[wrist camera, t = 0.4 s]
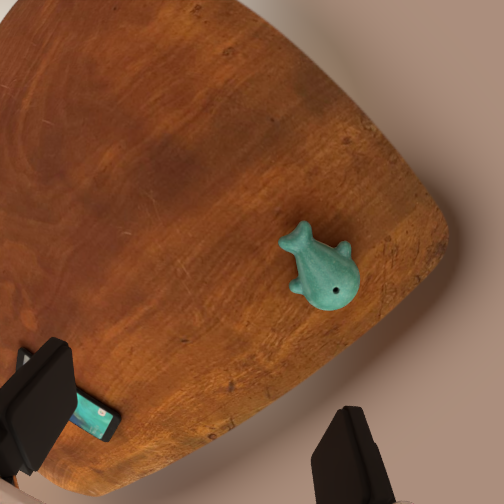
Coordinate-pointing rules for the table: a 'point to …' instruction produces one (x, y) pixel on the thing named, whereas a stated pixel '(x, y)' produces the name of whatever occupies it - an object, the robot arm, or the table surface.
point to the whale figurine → (321, 269)
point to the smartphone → (86, 410)
